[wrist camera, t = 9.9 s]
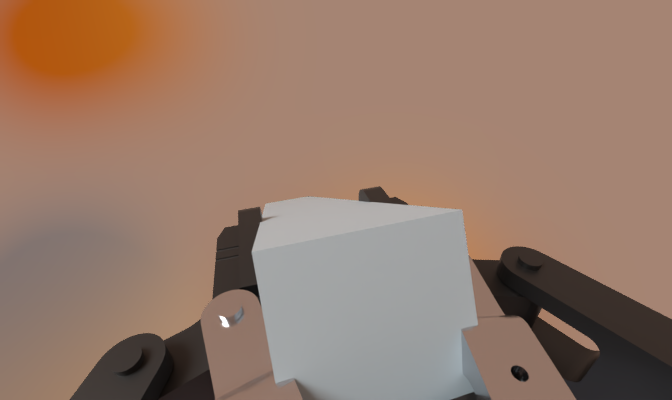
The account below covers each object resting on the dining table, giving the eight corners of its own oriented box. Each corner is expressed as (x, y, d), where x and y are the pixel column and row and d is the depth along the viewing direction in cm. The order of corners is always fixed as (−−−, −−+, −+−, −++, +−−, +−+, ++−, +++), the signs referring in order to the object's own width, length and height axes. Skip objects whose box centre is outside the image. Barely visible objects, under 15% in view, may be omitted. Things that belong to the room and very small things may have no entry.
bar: (292, 475, 5) (251, 251, 5) (273, 246, 26) (265, 203, 26) (489, 404, 6) (461, 209, 5) (315, 237, 26) (308, 196, 26)
